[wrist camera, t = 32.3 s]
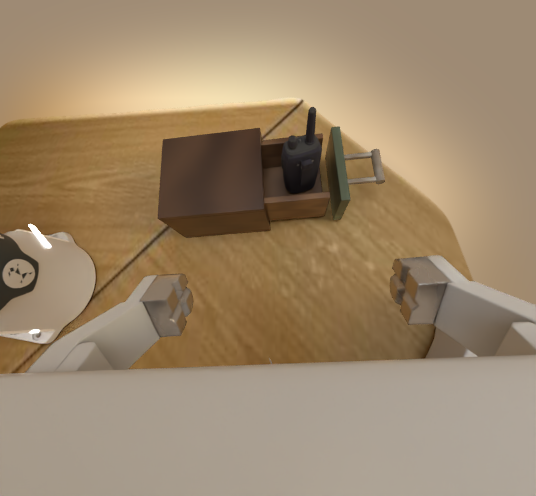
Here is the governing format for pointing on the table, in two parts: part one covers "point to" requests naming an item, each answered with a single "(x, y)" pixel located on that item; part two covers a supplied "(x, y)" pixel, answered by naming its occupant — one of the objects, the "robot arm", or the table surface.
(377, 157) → the drawer
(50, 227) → the table surface
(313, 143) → the two-way radio
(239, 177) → the cabinet
